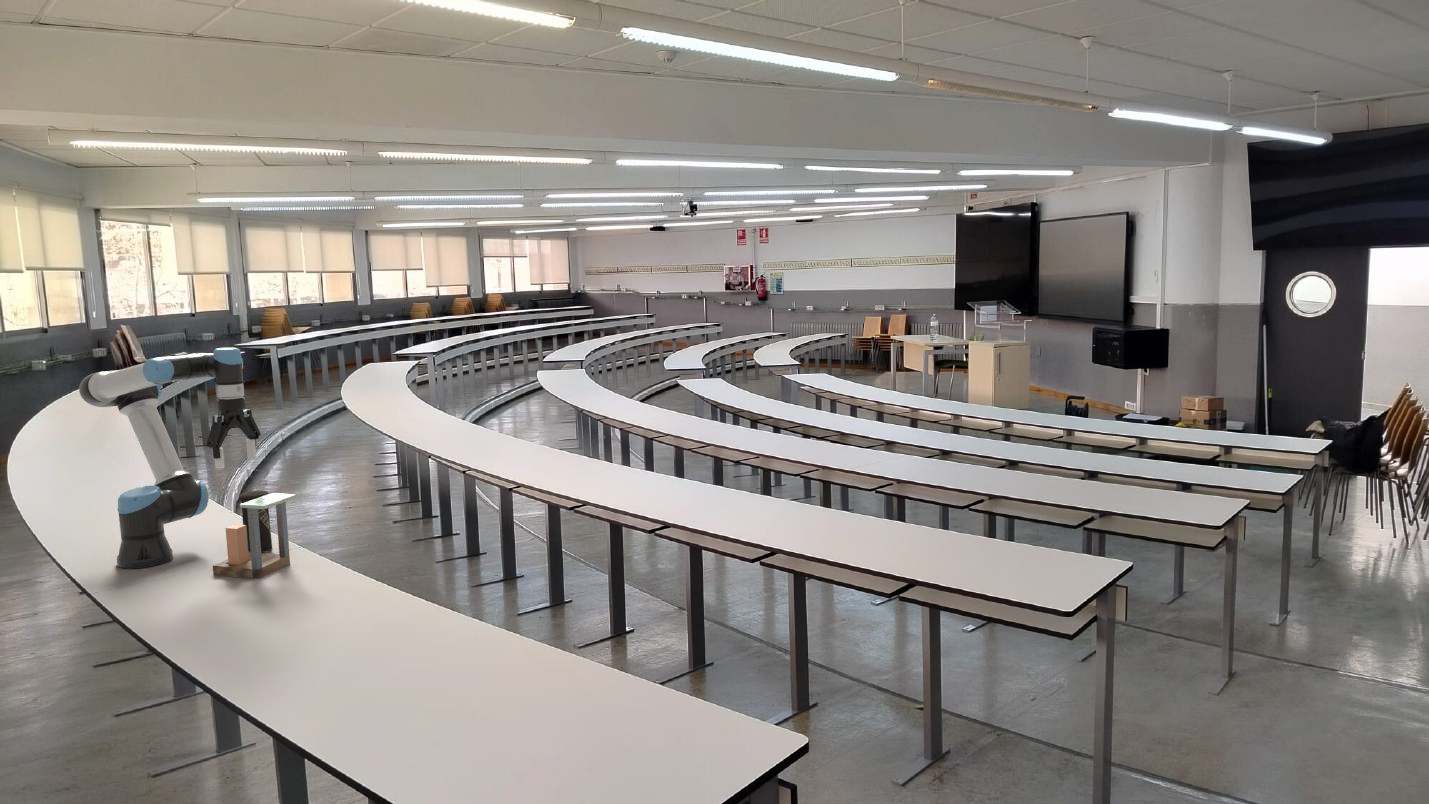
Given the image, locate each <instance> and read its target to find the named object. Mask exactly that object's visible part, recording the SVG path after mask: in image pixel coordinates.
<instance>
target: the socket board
mask: <svg viewBox="0 0 1429 804" xmlns="http://www.w3.org/2000/svg"><path fill="white" fill-rule="evenodd" d="M248 553H249V561H248V562H246V563H243V564H241V565H233V564H228V558H227V559H225V560H222V561H220V562H217V563H216V564H213V565H212V574H213V576H221V577H222V576H223V577H232V578H241V579H242V578H243V579H253V580H255V579H254V578H253V577H255V578H256V577H258V576H257V575H259V577H258V578H260V579H262V578H264V577H266V576H268V575H271V574H273V573H275V572H277V571H278V570H281V569H283V568H285V567H287V566H289V565H291V557H290V556H291V555H289V556H286V557H280V555H279V554H278V553H267V552H263V553H261V556H262V570H261V569H260V571H258V572H260V573H258V572H257V575H256V576H255V575H254V573H256V572H255V571H256V569H255V571H254V570H253V569H252V563H251V552H248ZM286 565H287V566H286ZM252 570H253V571H252ZM258 570H259V569H258ZM252 573H253V574H252ZM261 573H262V574H261ZM252 575H253V576H252ZM260 575H261V576H260ZM258 578H257V579H256V580H259V579H258Z"/></svg>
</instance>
